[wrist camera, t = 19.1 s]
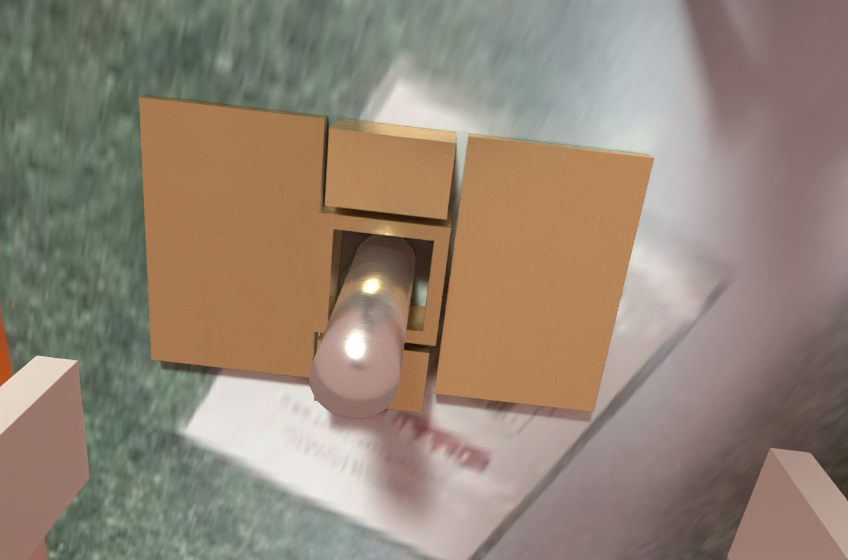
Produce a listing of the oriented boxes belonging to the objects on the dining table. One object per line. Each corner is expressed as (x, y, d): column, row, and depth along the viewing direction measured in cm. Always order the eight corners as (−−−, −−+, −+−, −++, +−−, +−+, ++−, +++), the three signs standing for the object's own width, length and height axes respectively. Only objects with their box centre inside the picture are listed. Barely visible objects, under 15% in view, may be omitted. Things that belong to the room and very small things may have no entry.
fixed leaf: (146, 95, 37) (117, 102, 33) (461, 131, 37) (462, 142, 33) (158, 352, 42) (133, 379, 39) (428, 383, 43) (427, 413, 39)
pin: (357, 229, 39) (311, 335, 26) (418, 236, 39) (403, 346, 26) (353, 285, 40) (306, 413, 27) (412, 292, 40) (394, 423, 27)
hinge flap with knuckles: (340, 118, 36) (329, 128, 33) (648, 154, 37) (668, 167, 33) (324, 372, 42) (313, 402, 39) (590, 403, 42) (601, 435, 39)
